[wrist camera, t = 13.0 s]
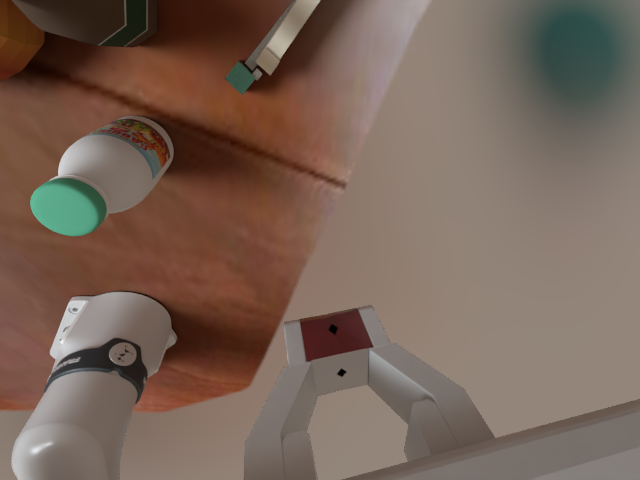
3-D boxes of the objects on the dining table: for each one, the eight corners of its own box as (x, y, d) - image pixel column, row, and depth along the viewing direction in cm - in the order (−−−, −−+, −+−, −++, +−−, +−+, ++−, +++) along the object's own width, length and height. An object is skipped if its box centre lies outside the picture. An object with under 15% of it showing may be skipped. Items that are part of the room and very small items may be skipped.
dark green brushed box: (245, 92, 38) (244, 97, 35) (227, 76, 37) (224, 78, 33) (261, 72, 38) (262, 74, 34) (244, 54, 36) (243, 54, 33)
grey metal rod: (252, 70, 37) (252, 71, 37) (244, 63, 37) (244, 63, 36) (329, -27, 34) (330, -27, 33) (322, -37, 33) (322, -38, 33)
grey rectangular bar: (319, -38, 33) (330, -52, 28) (332, -22, 34) (344, -33, 29) (254, 60, 36) (255, 62, 32) (268, 73, 37) (270, 75, 33)
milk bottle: (180, 172, 42) (134, 249, 26) (121, 174, 41) (31, 257, 24) (167, 114, 38) (101, 161, 21) (100, 114, 37) (-25, 165, 20)
